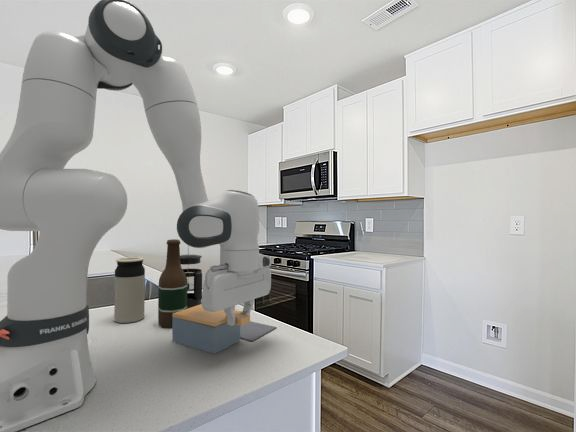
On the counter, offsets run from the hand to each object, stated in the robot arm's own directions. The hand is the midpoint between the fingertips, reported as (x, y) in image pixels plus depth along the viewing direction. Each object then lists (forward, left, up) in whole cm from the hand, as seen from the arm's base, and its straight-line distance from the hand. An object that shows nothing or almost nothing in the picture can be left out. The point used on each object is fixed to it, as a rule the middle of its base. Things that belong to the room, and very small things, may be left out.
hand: (239, 321), depth 73 cm
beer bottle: (+5, +28, -7) cm, 29 cm away
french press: (+20, +38, -7) cm, 43 cm away
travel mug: (+1, +42, -7) cm, 42 cm away
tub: (+1, +11, -7) cm, 13 cm away
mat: (+12, +8, -7) cm, 15 cm away
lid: (0, +8, -1) cm, 8 cm away
